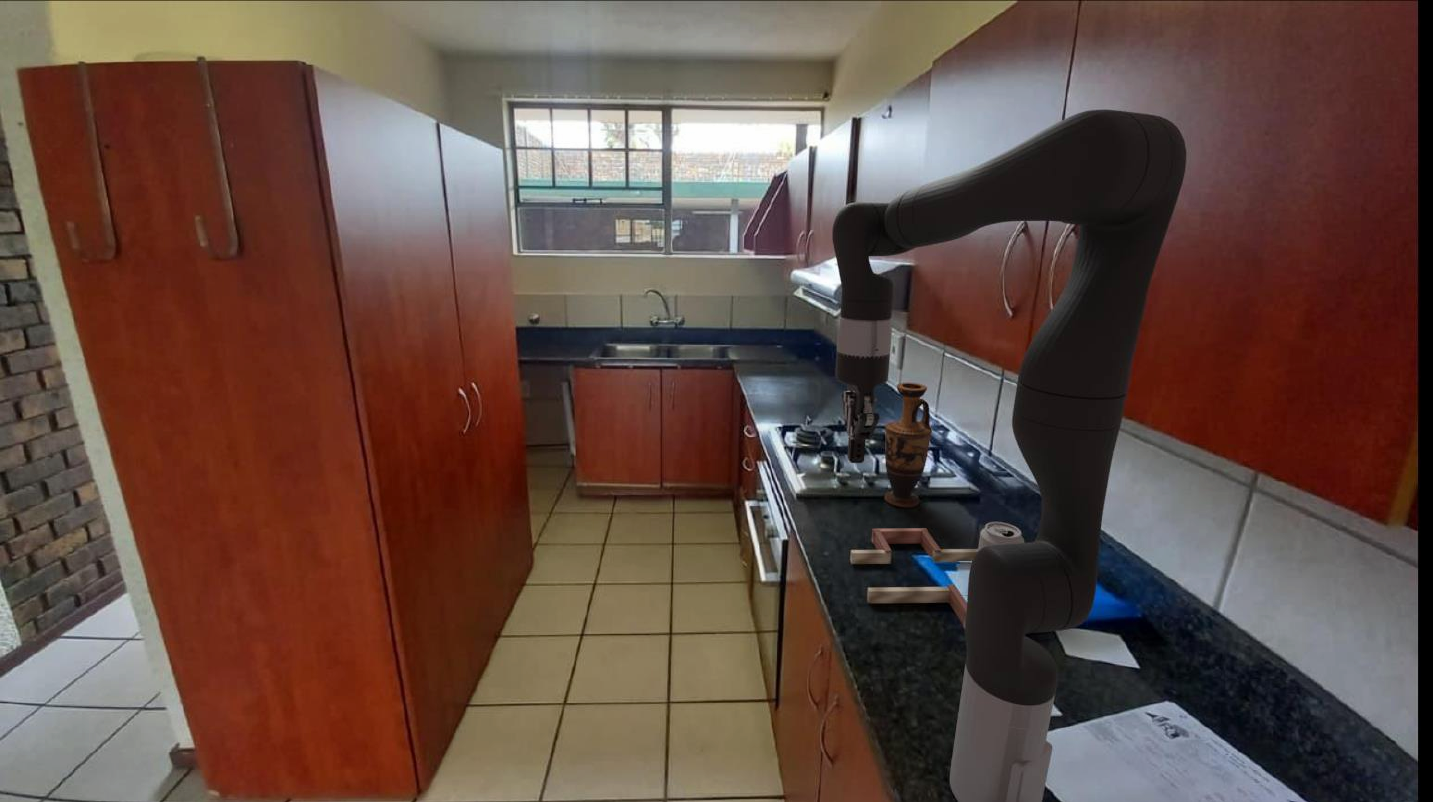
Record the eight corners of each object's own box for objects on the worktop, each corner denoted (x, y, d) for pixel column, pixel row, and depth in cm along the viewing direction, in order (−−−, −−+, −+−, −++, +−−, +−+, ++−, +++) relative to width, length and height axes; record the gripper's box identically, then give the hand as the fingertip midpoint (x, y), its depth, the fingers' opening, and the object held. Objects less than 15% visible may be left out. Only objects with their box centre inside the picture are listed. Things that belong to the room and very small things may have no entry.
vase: (883, 509, 144) (894, 391, 135) (875, 490, 154) (884, 380, 146) (929, 511, 143) (942, 392, 134) (917, 492, 153) (929, 380, 145)
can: (1006, 601, 108) (1015, 543, 105) (967, 583, 114) (974, 528, 110) (1023, 585, 113) (1032, 529, 110) (984, 569, 118) (992, 515, 115)
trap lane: (881, 632, 100) (882, 617, 99) (841, 541, 129) (842, 528, 128) (1070, 630, 100) (1073, 615, 100) (988, 539, 130) (990, 527, 129)
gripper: (904, 358, 78) (893, 478, 83) (876, 340, 91) (868, 445, 96) (847, 358, 78) (840, 479, 83) (828, 340, 91) (822, 446, 95)
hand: (855, 461), depth 89 cm, fingers closed
